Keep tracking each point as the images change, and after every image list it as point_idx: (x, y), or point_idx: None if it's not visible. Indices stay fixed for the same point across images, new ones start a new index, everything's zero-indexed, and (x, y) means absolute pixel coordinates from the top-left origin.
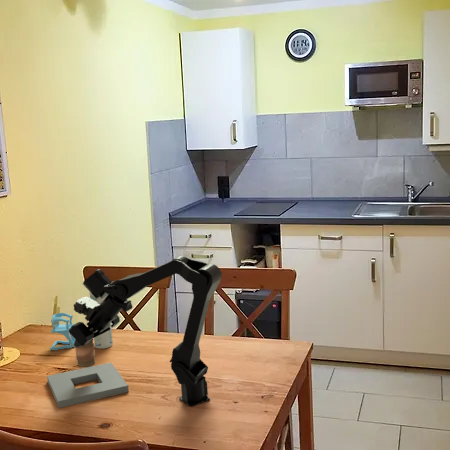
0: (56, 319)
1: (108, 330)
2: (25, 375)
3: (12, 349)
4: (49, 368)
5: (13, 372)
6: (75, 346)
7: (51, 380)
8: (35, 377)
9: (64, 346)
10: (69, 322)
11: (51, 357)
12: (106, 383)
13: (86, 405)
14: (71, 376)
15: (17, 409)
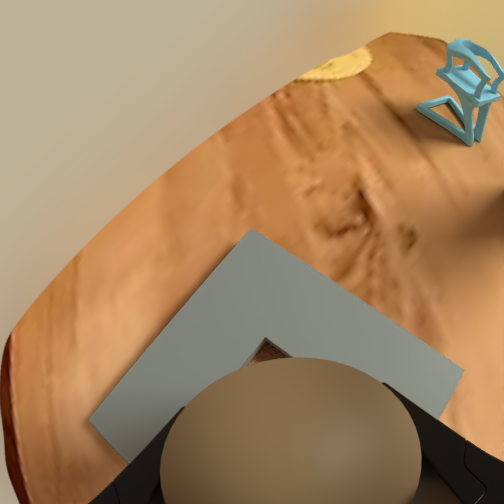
0: (460, 51)
1: None
2: (268, 147)
3: (362, 55)
4: (342, 170)
5: (270, 114)
6: None
7: (223, 273)
8: (269, 179)
9: (449, 125)
10: (492, 84)
11: (395, 131)
12: None
13: None
14: (286, 323)
15: (71, 296)
